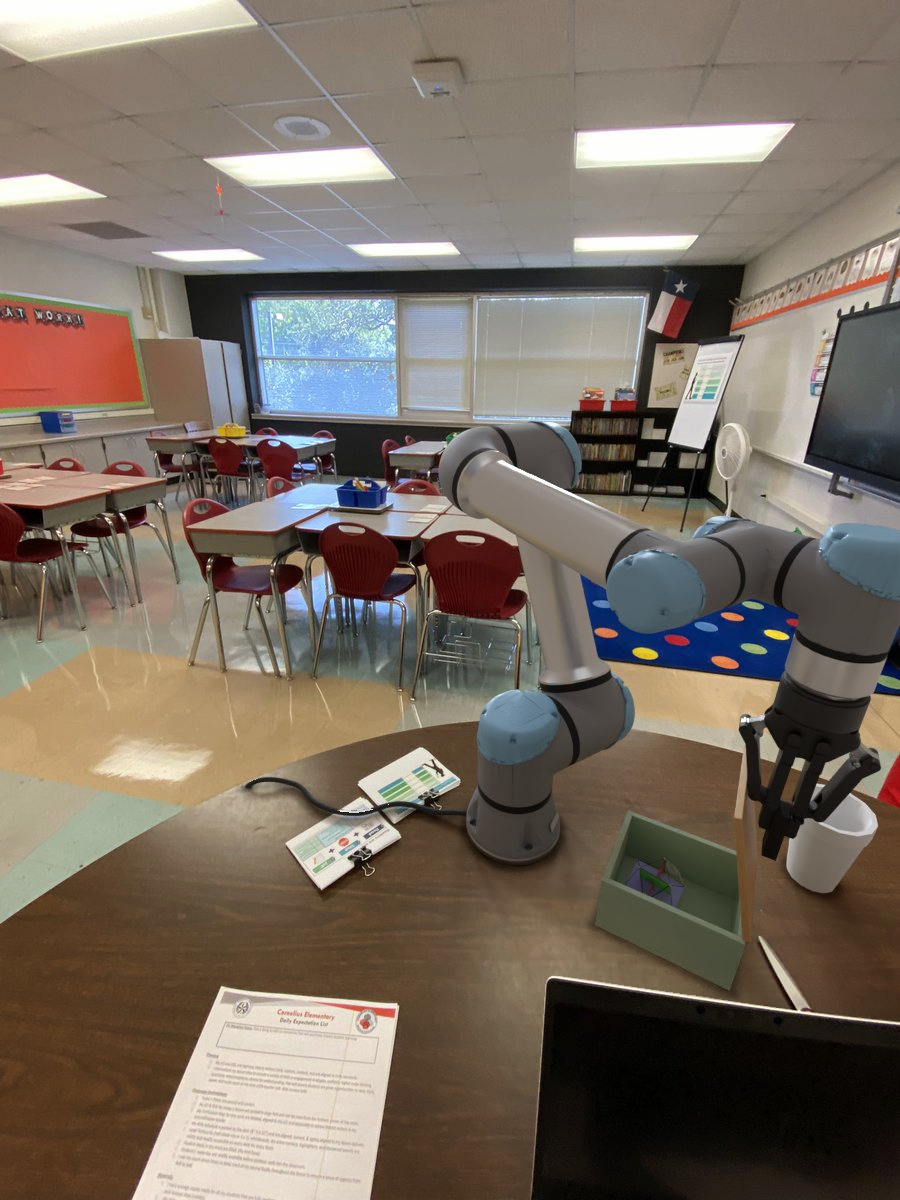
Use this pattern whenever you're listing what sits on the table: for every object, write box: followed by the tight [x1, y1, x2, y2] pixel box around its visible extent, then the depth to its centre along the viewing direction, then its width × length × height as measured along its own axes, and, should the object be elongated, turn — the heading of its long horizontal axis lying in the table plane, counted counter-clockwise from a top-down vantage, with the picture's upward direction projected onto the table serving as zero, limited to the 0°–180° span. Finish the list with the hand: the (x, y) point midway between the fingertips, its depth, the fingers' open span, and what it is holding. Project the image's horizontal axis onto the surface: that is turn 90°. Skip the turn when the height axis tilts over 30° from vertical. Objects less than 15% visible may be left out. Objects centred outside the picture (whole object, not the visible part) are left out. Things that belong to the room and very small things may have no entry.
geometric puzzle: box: [624, 858, 686, 908], centre depth 74 cm, size 7×7×8 cm
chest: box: [594, 809, 747, 992], centre depth 73 cm, size 17×14×9 cm
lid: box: [733, 743, 759, 944], centre depth 64 cm, size 17×14×1 cm
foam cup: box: [786, 783, 879, 894], centre depth 77 cm, size 10×9×13 cm
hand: (769, 849), depth 64 cm, fingers closed
